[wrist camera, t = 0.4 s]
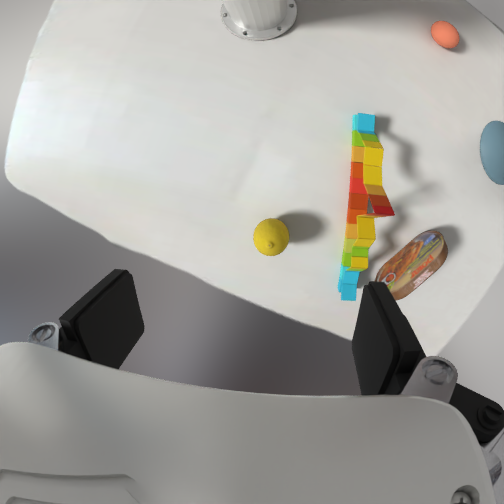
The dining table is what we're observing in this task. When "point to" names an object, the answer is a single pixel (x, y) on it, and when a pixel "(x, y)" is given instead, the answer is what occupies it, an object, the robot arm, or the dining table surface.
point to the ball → (445, 34)
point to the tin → (413, 264)
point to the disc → (493, 151)
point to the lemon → (271, 237)
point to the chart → (362, 203)
